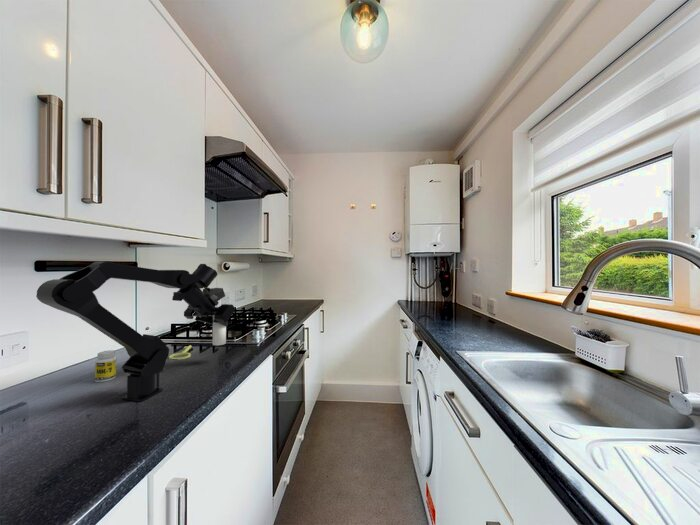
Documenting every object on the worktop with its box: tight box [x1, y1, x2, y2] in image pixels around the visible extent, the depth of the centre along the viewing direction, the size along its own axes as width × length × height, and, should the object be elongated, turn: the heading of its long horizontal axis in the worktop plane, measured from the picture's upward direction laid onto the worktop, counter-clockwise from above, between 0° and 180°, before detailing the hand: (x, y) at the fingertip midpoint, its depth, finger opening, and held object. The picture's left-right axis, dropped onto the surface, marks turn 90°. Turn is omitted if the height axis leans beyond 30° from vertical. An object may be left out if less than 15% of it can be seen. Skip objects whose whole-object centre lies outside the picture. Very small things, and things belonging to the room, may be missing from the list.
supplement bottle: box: [94, 349, 117, 383], centre depth 80 cm, size 5×5×8 cm
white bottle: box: [212, 315, 227, 346], centre depth 94 cm, size 4×4×13 cm
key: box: [168, 344, 192, 360], centre depth 103 cm, size 7×12×2 cm, turn 30°
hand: (222, 324), depth 96 cm, fingers closed on white bottle, 4 cm apart
